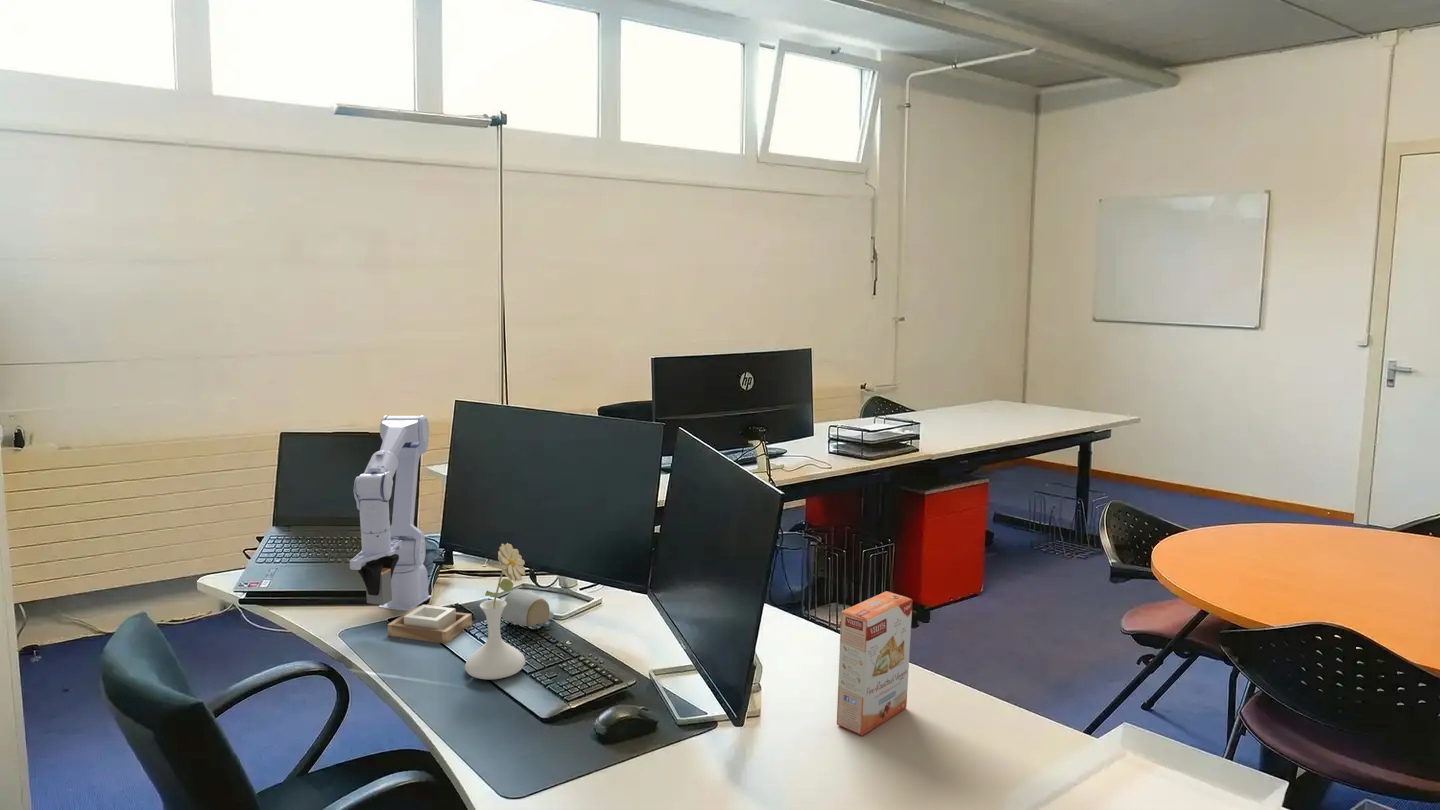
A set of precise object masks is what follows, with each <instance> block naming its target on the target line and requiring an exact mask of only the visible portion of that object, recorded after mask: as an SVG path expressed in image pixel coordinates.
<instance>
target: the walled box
mask: <svg viewBox="0 0 1440 810" xmlns="http://www.w3.org/2000/svg"><path fill="white" fill-rule="evenodd" d="M418 607H419V606H416V607H414V608H413V609H411V610H409V611H406V612H405V613H404V614H402V615H400V616H399V617H397V618H395V619H394V620H392V621H391V622H389V623H387V624H386V625H387V627H386V628H387V636H388V637H393V638H401V639H408V640H409V639H410V640H416V641H422V642H423V641H424V642H430V643H438V644H444V645H446V644H447V645H448V643H450V642H451V641H452V640H454V639H455V638H456V637H455V636H457V635H458V634H459V635H461V634H462V633H463V632H462V631H463V630H464V629H466V628H468V627H469V626H470V627H472V626H473V615H472V613H467V612H466V613H465V612H460V611H459V612H458V611H456V622H455V623H453V624H452V625H450V626H449V627H448V628H446V629H445V630H443V629H435V628H428V627H420V626H412V625H405V624H404V616H405V615H407V614H409V613H410V612H412V611H413V610H415V609H417V608H418ZM470 627H469V628H470ZM469 628H468V629H469ZM466 630H467V629H466ZM461 632H462V633H461ZM460 633H461V634H460ZM459 635H458V636H459ZM458 636H457V637H458ZM454 637H455V638H454ZM453 638H454V639H453Z"/></svg>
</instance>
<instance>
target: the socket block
mask: <svg viewBox="0 0 1440 810" xmlns="http://www.w3.org/2000/svg"><path fill="white" fill-rule="evenodd" d="M417 607H418V608H417V609H415V610H413V611H412V612H410V613H409V614H407V615H405V616H404V624H405V625H412V626H420V627H428V628H435V629H443V630H445V629H446V628H448V627H449V626H450V625H452V624H453V623H455V622H456V612H457V611H456V610H457V609H456V608H454V607H445V606H437V605H432V604H431V605H429V604H421V605H420V606H417Z"/></svg>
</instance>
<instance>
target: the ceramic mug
mask: <svg viewBox="0 0 1440 810" xmlns="http://www.w3.org/2000/svg"><path fill="white" fill-rule="evenodd" d="M504 601H506V603H507V604H506V606H505V607H504V609H503V611H502V614H501V618H502V619H503V621H504V620H506V621H509V622H512V623H516V624H519V625H523V626H532V625H536V624H538V623H545V624H547V622H548V620H549V621H551V620H553V618H554V615H555V613H554V612H553V611H551V610H550V605H549V603H548V601H547V600H545V599H544V598H542V597H541V596H538V595H535V594H533V593H531V592H528V591H525V590H523V589H521V588H520V589H519V588H517V589H516V588H515V589H513V590H510V591H509V593H508V594H507V595H506V596H505V598H504Z"/></svg>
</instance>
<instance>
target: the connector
mask: <svg viewBox="0 0 1440 810" xmlns="http://www.w3.org/2000/svg"><path fill="white" fill-rule="evenodd" d="M365 590H366V603H367V604H371V605H379V606H380V605H384V604H386V603H388V602H390V601H391V600H392V588H391V569H390V568H382V571H381V575H380V589H379V595H377V596H375V595H369V594H368V591H367V588H366V587H365Z"/></svg>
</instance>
